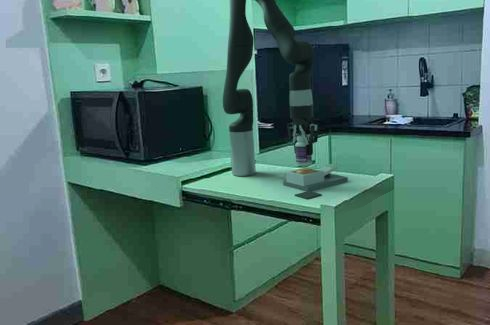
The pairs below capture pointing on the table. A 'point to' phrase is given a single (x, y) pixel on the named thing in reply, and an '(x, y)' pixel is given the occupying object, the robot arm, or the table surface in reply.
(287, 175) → the panel
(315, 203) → the table surface
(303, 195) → the pad
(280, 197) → the table surface
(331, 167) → the rocker
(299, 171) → the plunger
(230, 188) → the table surface
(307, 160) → the pill bottle
